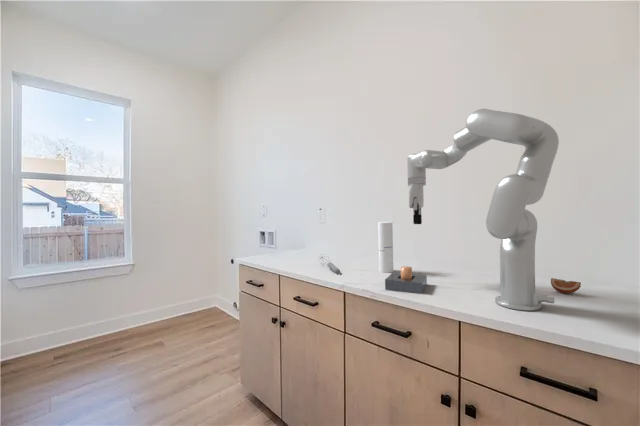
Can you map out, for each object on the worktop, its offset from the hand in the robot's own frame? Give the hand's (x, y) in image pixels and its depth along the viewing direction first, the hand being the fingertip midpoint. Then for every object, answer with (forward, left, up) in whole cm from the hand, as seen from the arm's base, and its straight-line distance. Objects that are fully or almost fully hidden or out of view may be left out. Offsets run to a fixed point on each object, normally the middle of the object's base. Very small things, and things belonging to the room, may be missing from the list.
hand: (417, 223), depth 129 cm
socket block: (+3, +12, -25) cm, 28 cm away
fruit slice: (-51, 0, -25) cm, 57 cm away
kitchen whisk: (+48, -11, -26) cm, 56 cm away
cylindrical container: (+18, -14, -25) cm, 34 cm away
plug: (+3, +12, -25) cm, 28 cm away
